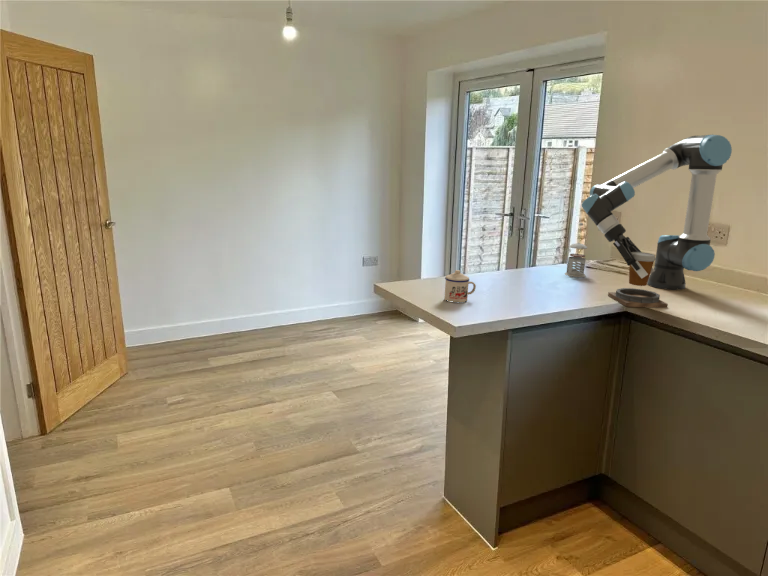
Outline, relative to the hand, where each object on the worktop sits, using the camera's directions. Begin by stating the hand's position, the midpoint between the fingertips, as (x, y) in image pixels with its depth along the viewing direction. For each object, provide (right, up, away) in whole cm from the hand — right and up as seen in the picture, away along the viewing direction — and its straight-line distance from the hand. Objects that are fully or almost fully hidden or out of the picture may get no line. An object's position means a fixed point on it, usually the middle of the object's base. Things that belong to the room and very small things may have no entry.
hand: (648, 274), depth 206 cm
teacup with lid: (-73, -10, -2) cm, 74 cm away
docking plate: (-2, -10, +5) cm, 12 cm away
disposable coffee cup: (-3, -4, +3) cm, 6 cm away
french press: (-11, +1, +51) cm, 52 cm away
